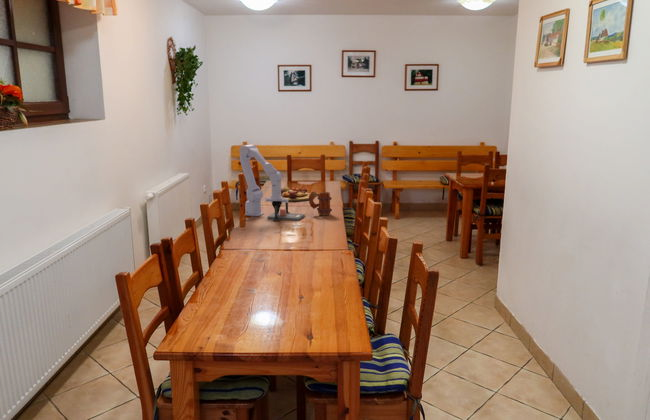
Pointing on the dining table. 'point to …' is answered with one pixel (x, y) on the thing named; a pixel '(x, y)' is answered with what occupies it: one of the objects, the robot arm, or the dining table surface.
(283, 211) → the knob
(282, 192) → the wooden plate with food
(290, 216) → the breaker panel
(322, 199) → the mug
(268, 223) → the dining table surface
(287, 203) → the post
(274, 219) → the post
